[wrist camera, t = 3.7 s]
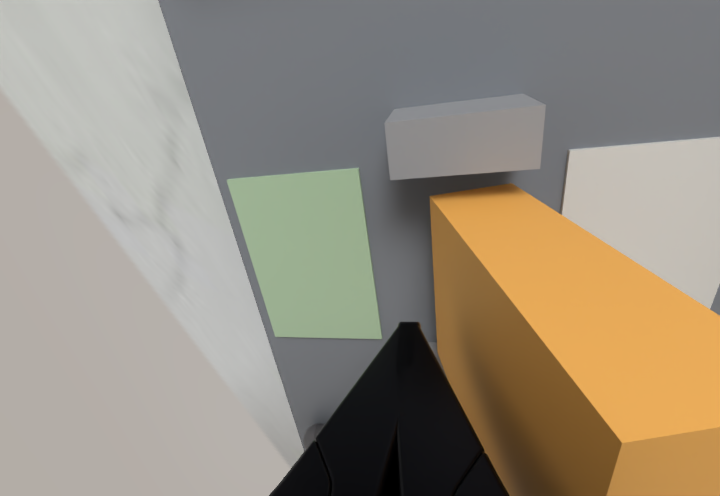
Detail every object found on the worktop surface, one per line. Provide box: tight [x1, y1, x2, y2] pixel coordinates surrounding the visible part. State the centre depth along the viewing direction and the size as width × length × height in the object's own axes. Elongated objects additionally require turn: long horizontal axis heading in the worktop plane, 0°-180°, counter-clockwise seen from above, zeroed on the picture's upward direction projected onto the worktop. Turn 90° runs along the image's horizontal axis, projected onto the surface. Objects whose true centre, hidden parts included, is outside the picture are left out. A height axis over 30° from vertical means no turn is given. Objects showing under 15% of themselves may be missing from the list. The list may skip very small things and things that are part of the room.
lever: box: [430, 183, 720, 496], centre depth 7 cm, size 2×5×6 cm, turn 8°
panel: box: [158, 0, 720, 451], centre depth 11 cm, size 14×22×5 cm, turn 8°
